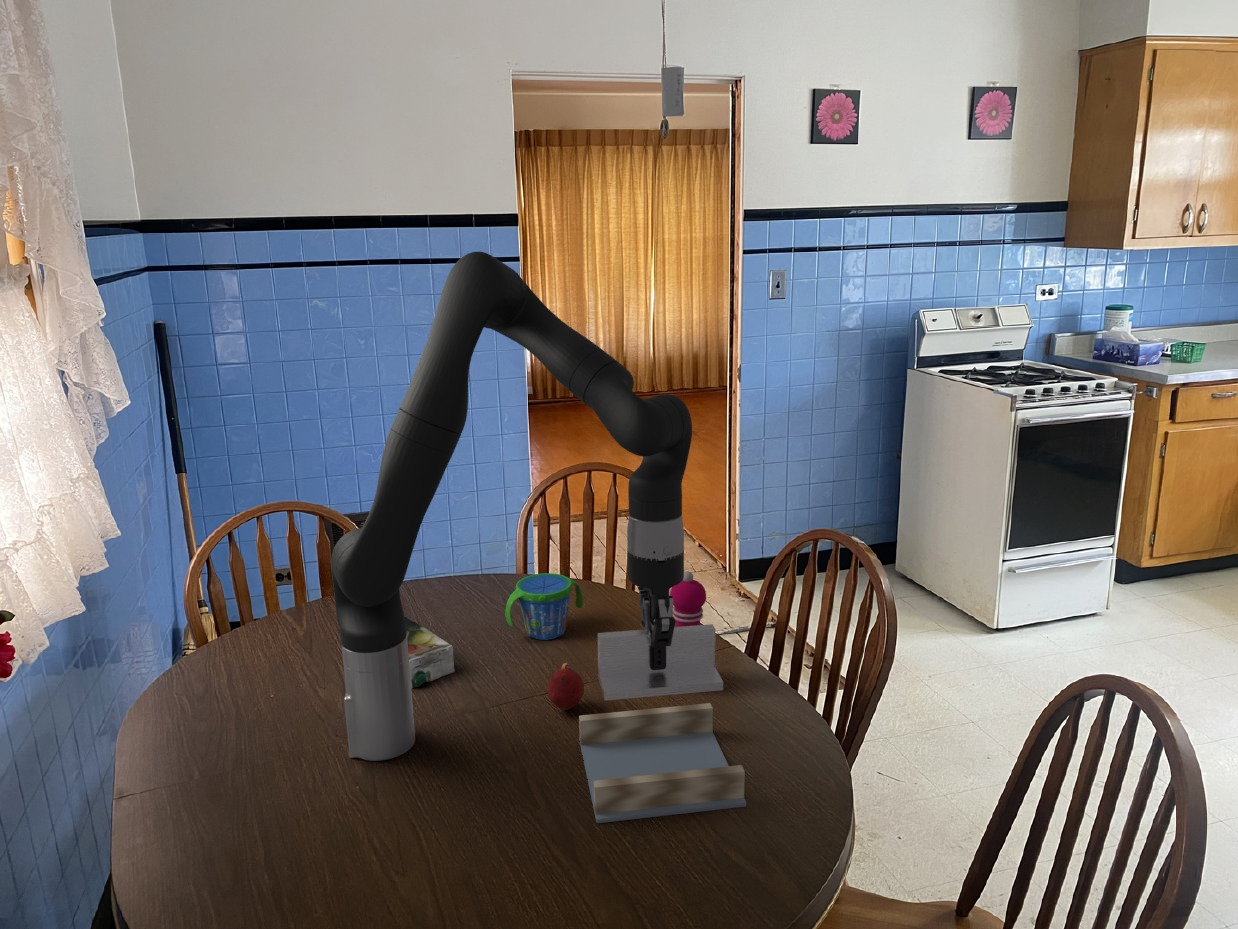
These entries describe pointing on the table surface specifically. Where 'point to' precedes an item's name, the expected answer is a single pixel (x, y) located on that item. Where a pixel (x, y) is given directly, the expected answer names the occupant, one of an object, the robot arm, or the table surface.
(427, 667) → the juice carton
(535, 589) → the snack cup
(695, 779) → the walls
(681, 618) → the pepper mill
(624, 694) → the bracket
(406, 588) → the table surface
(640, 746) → the board
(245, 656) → the table surface
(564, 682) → the onion
